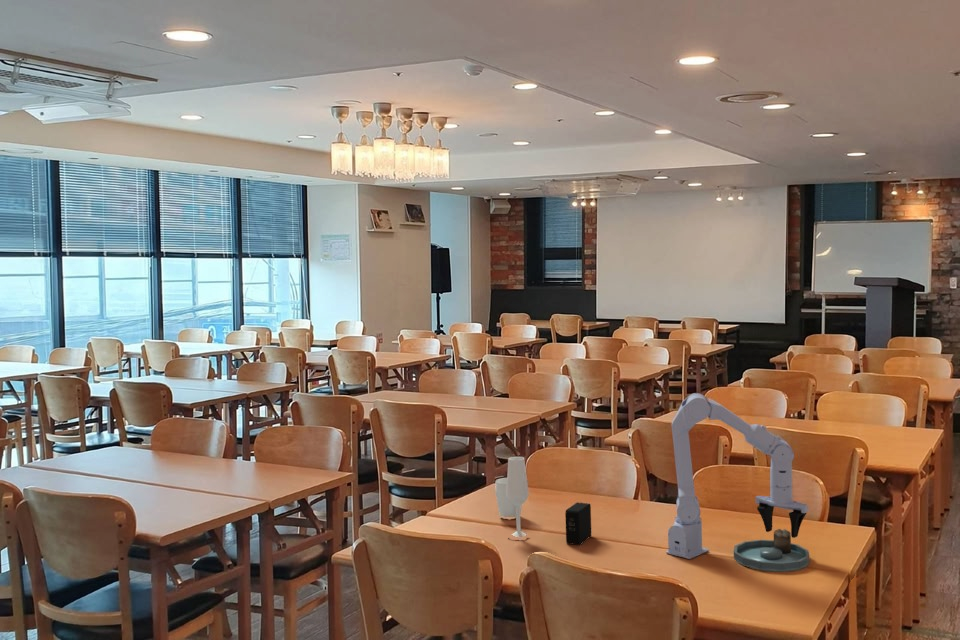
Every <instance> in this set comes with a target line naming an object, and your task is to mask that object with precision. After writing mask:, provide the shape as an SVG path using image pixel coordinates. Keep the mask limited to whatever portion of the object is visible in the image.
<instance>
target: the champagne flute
mask: <svg viewBox="0 0 960 640" xmlns="http://www.w3.org/2000/svg"><path fill="white" fill-rule="evenodd" d="M506 475H507V477H506V478H507V491H506V496H507V498H508V499H509V501H510V502H511V503H513V504H514V505H515V506H516V520H515V521H516V522H515V523H516V531H515V532H513V533H512V534H511V535H513V536H515V537H524V536H526V533H525V532H523V531H522V530H521V529H522V528H521V516H520V505H523V504H524V503H526V501H527V499H528V498H529V496H530V494H529V493H530V492H529V485H528V477H527V470H526V461H525V457H523V456H511V457H508V460H507V474H506Z"/></svg>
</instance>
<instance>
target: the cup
mask: <svg viewBox="0 0 960 640" xmlns="http://www.w3.org/2000/svg"><path fill="white" fill-rule="evenodd" d="M494 486H495V488H494V491H495V498H496V503H497V508H498V513H499V516H500V515H501V516H504V517H516V506H515V505H514V504H513V503H511V502H510V501H509V499H508V498H507V496H506V491H507V477H502V478H498V479H496V480H495V485H494ZM522 505H523V504H522ZM522 505H520V515H522Z"/></svg>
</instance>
